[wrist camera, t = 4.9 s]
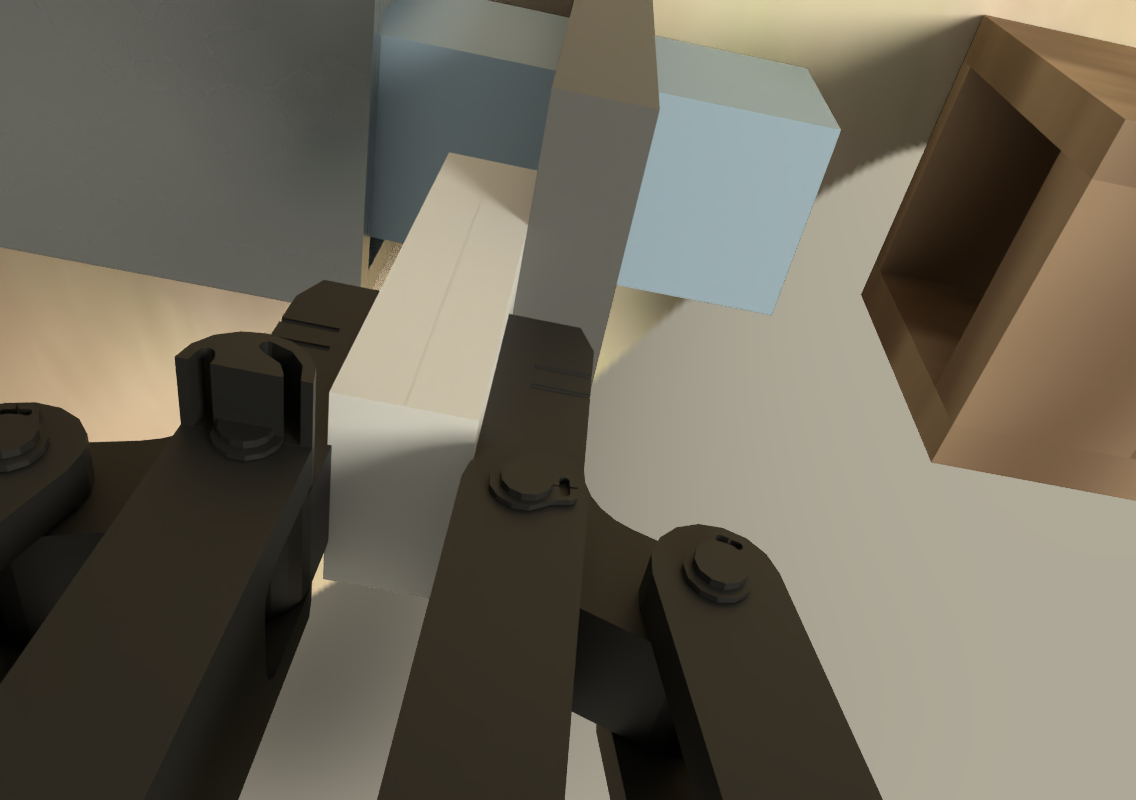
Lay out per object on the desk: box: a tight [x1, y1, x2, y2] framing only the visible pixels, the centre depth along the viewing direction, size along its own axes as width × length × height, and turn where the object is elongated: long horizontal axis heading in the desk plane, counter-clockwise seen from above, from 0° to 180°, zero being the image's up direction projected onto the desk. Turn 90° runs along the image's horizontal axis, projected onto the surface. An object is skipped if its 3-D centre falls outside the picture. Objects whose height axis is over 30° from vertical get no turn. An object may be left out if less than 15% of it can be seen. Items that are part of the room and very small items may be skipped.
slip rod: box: [370, 0, 841, 386], centre depth 17 cm, size 18×6×10 cm, turn 80°
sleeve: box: [0, 0, 395, 302], centre depth 18 cm, size 9×6×6 cm
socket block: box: [861, 15, 1136, 501], centre depth 19 cm, size 4×7×7 cm, turn 169°
